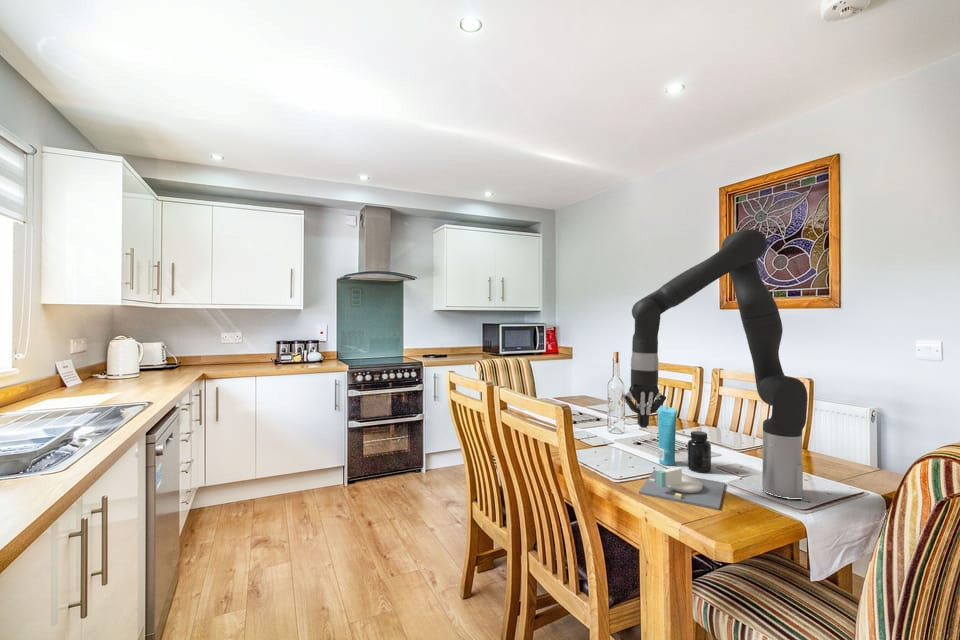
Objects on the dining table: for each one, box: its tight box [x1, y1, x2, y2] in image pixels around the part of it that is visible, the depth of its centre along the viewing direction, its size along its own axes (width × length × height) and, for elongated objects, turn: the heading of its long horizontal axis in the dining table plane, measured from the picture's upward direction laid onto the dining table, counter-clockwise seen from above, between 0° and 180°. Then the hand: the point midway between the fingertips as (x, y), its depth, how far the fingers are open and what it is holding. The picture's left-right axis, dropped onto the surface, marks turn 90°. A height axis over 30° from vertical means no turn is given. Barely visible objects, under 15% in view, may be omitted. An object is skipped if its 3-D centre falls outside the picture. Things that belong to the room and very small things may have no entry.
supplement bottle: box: [687, 430, 712, 474], centre depth 146 cm, size 7×7×12 cm
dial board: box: [638, 469, 726, 511], centre depth 130 cm, size 20×20×1 cm
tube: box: [657, 405, 678, 466], centre depth 152 cm, size 7×5×19 cm, turn 39°
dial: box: [656, 466, 702, 493], centre depth 129 cm, size 14×10×6 cm
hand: (643, 427), depth 131 cm, fingers closed
